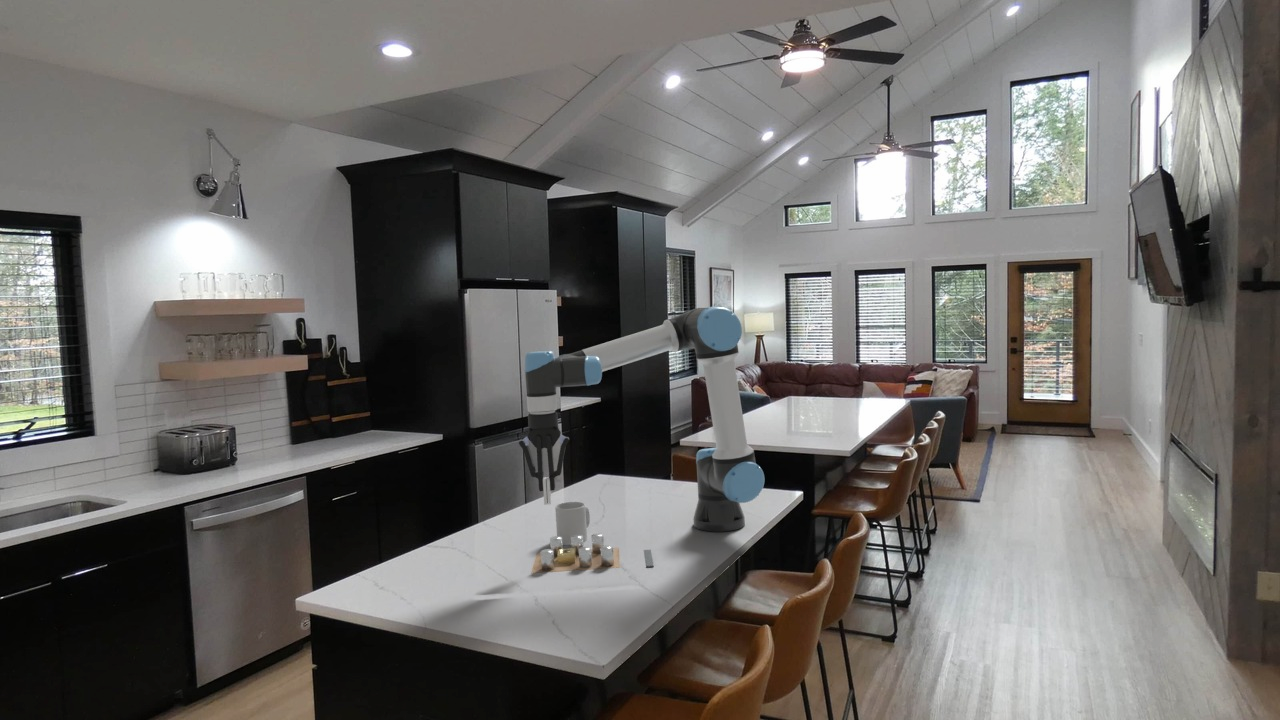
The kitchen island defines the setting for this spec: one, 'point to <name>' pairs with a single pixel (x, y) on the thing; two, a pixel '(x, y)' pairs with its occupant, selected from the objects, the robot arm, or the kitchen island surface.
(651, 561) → the mat
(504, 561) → the kitchen island surface
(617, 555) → the board
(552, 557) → the spacers
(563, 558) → the nut
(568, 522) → the mug
